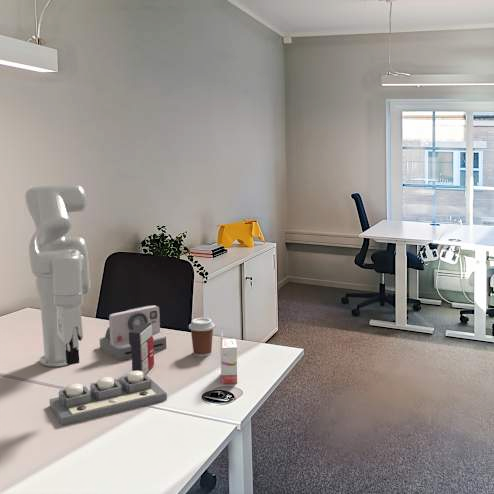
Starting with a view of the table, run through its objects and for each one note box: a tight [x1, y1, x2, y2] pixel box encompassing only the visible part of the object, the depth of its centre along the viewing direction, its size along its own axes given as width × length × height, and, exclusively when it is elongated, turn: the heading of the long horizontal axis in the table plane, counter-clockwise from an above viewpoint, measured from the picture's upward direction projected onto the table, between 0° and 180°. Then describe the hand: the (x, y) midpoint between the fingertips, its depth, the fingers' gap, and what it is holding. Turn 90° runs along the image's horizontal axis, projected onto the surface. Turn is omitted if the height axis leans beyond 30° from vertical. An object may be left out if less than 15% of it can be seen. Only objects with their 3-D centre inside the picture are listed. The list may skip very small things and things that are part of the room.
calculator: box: [129, 323, 155, 375], centre depth 192 cm, size 11×4×15 cm, turn 168°
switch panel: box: [49, 373, 168, 426], centre depth 170 cm, size 14×30×4 cm, turn 121°
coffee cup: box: [188, 317, 216, 357], centre depth 209 cm, size 9×9×12 cm
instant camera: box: [99, 304, 167, 361], centre depth 215 cm, size 21×21×15 cm
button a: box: [65, 383, 84, 398], centre depth 167 cm, size 5×5×2 cm
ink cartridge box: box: [220, 330, 238, 385], centre depth 186 cm, size 9×5×15 cm, turn 5°
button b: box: [96, 376, 115, 391], centre depth 172 cm, size 5×5×2 cm
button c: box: [126, 370, 143, 384], centre depth 176 cm, size 5×5×2 cm
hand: (72, 363), depth 165 cm, fingers closed
